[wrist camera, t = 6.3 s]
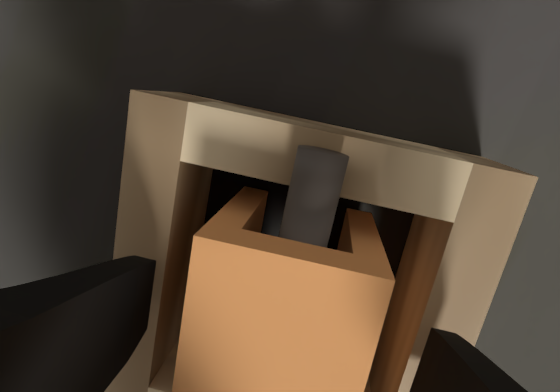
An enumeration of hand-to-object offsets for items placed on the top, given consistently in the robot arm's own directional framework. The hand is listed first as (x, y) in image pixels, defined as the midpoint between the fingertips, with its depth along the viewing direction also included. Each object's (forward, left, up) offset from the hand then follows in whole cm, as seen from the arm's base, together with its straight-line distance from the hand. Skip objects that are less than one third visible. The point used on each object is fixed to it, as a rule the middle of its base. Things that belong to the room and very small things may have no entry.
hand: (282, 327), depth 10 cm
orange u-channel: (0, 0, -3) cm, 4 cm away
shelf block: (0, 0, -4) cm, 4 cm away
